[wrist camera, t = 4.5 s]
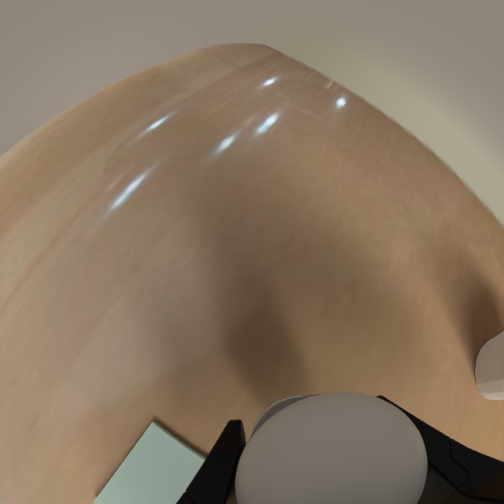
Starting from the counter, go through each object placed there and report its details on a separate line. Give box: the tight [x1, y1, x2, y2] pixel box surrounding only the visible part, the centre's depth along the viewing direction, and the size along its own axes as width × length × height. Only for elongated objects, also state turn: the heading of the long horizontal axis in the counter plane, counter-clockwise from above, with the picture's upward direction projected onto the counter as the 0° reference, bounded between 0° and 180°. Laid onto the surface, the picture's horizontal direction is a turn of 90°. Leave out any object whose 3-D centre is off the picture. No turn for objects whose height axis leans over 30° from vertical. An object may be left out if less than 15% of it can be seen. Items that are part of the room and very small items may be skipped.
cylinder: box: [235, 392, 428, 504], centre depth 8 cm, size 5×5×12 cm
